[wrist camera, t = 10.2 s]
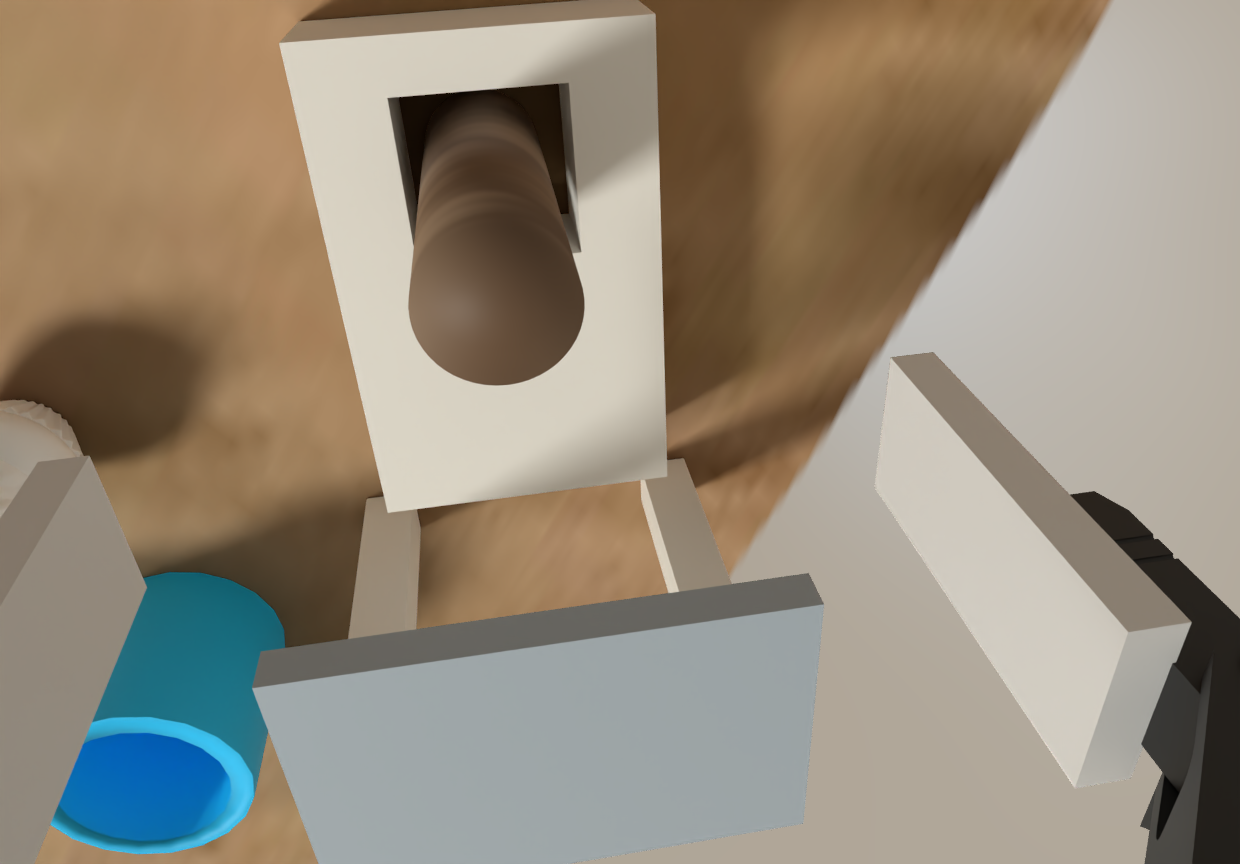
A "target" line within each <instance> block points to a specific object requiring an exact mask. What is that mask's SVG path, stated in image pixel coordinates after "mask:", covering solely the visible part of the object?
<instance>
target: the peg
mask: <svg viewBox="0 0 1240 864" xmlns="http://www.w3.org/2000/svg"><path fill="white" fill-rule="evenodd" d="M408 310H409V318H410V322H411V326H412V329H413V332H414V334H415V337H416V339H417V341H418V342H419V344H420V346H421V347H422V349H423V350H424V351H425V352H426V354H427V355H428V356H429V357H430V358H431V359H432V360H433V361H434V362H435V363H436V364H437V365H438V366H440V367H441V368H442V369H444V370H445V371H447V372H449V373H450V374H452V375H454V376H456V377H458V378H461V379H463V380H466V381H469V382H473V383H477V384H483V385H494V386H499V385H511V384H516V383H521V382H524V381H527V380H530V379H533V378H535V377H537V376H539V375H541V374H543V373H545V372H546V371H548V370H549V369H551V368H552V367H553V366H555V365H556V364H557V363H558V362H559V361H560V360H561V359H562V358H563V357H564V356H565V355H566V354H567V353H568V351H569V350H570V349H571V347H572V346H573V344H574V342H575V341H576V339H577V337H578V334H579V332H580V330H581V326H582V322H583V318H584V310H585V301H584V293H583V288H582V284H581V281H580V277H579V274H578V271H577V267H576V264H575V261H574V257H573V254H572V251H571V247H570V244H569V241H568V237H567V234H566V230H565V227H564V224H563V220H562V217H561V214H560V210H559V207H558V204H557V200H556V197H555V194H554V190H553V187H552V184H551V180H550V177H549V174H548V170H547V167H546V163H545V160H544V157H543V153H542V150H541V147H540V143H539V140H538V137H537V133H536V130H535V127H534V125H533V122H532V120H531V118H530V117H529V115H528V114H527V112H526V111H525V110H524V109H523V107H522V106H520V105H519V104H518V103H517V102H516V101H515V100H513V99H512V98H511V97H509V96H507V95H505V94H503V93H501V92H498V91H495V90H491V89H488V90H476V91H464V92H458V93H456V94H454V95H452V96H450V97H449V98H447V99H446V100H445V101H444V102H442V103H441V104H440V105H439V107H438V108H437V109H436V110H435V112H434V113H433V115H432V116H431V118H430V121H429V123H428V126H427V129H426V134H425V142H424V152H423V161H422V171H421V181H420V191H419V201H418V210H417V220H416V230H415V240H414V249H413V259H412V269H411V279H410V289H409V301H408Z"/></svg>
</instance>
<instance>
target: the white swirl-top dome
mask: <svg viewBox="0 0 1240 864" xmlns="http://www.w3.org/2000/svg"><path fill="white" fill-rule="evenodd" d="M82 456H83V454H82V452H81V449H80V446H79V444H78V441H77V438H76V436H75V434H74V432H73V429H72V427H71V426H69V425H68V423H67V420H65V419H62V418H61V414H58V413H55V412H53V411H52V409H51V408H47V407H45V406H44V405H43V404H36V403H35V402H34V401H30V402H27V401H25V400H7V401H0V518H1V517H2V515H3V514H4V512H5V511H6V509H7V508H8V506H9V505H10V503H11V502H12V500H13V499H14V497H15V496H16V494H17V493H18V491H19V490H20V488H21V487H22V485H23V484H24V482H25V481H26V479H27V478H28V476H29V475H30V473H31V472H32V470H33V469H34V467H35V466H36V464H37V463H38V462H41V461H49V460H57V459H65V458H73V457H82Z"/></svg>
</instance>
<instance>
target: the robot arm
mask: <svg viewBox="0 0 1240 864" xmlns="http://www.w3.org/2000/svg"><path fill="white" fill-rule="evenodd" d="M875 489H876V490H877V492H878V493H879V495H880V496H881V498H882V499H883V501H884V502H885V504H886V505H887V507H888V508H889V510H890V511H891V513H892V514H893V516H894V517H895V519H896V520H897V522H898V523H899V525H900V526H901V528H902V529H903V531H904V532H905V534H906V535H907V537H908V538H909V540H910V541H911V543H912V544H913V546H914V547H915V549H916V550H917V552H918V553H919V555H920V556H921V558H922V559H923V561H924V562H925V564H926V565H927V567H928V568H929V570H930V571H931V573H932V574H933V576H934V577H935V579H936V580H937V582H938V583H939V585H940V586H941V588H942V589H943V591H944V592H945V594H946V595H947V597H948V598H949V600H950V601H951V603H952V604H953V606H954V607H955V609H956V610H957V611H958V613H959V615H960V616H961V618H962V619H963V621H964V622H965V624H966V625H967V627H968V628H969V630H970V631H971V633H972V634H973V636H974V637H975V639H976V641H977V642H978V644H979V645H980V646H981V648H982V650H983V651H984V653H985V654H986V656H987V657H988V658H989V660H990V661H991V663H992V665H993V666H994V667H995V669H996V671H997V672H998V674H999V675H1000V676H1001V678H1002V680H1003V681H1004V683H1005V684H1006V686H1007V687H1008V689H1009V690H1010V692H1011V693H1012V695H1013V696H1014V698H1015V699H1016V701H1017V702H1018V704H1019V705H1020V707H1021V708H1022V710H1023V711H1024V713H1025V714H1026V716H1027V717H1028V719H1029V720H1030V721H1031V723H1032V725H1033V726H1034V728H1035V729H1036V731H1037V732H1038V734H1039V735H1040V737H1041V738H1042V740H1043V741H1044V743H1045V744H1046V746H1047V747H1048V749H1049V750H1050V752H1051V753H1052V755H1053V756H1054V758H1055V759H1056V761H1057V762H1058V764H1059V765H1060V767H1061V768H1062V770H1063V771H1064V773H1065V774H1066V776H1067V777H1068V779H1069V780H1070V782H1071V783H1072V785H1073V786H1074V788H1080V787H1085V786H1091V785H1097V784H1102V783H1108V782H1114V781H1119V780H1125V779H1130V778H1131V776H1132V773H1133V771H1134V769H1135V766H1136V764H1137V761H1138V758H1139V756H1140V753H1141V751H1142V748H1143V747H1144V748H1145V750H1146V751H1147V752H1148V754H1149V755H1150V756H1151V758H1152V759H1153V760H1154V761H1155V763H1156V764H1157V765H1158V766H1159V768H1160V769H1161V771H1162V772H1163V773H1162V775H1161V778H1160V780H1159V783H1158V785H1157V787H1156V789H1155V792H1154V794H1153V797H1152V799H1151V801H1150V804H1149V806H1148V809H1147V811H1146V813H1145V816H1144V818H1143V820H1142V823H1141V827H1144V828H1146V829H1149V830H1150V831H1149V838H1148V845H1147V851H1146V858H1145V864H1240V619H1239V617H1238V616H1236V615H1235V614H1234V613H1233V612H1232V611H1231V610H1230V609H1229V608H1228V607H1227V606H1226V605H1225V604H1224V603H1223V602H1222V601H1221V600H1220V599H1219V598H1218V597H1217V596H1216V595H1215V594H1214V593H1213V592H1212V591H1211V590H1210V589H1209V588H1208V587H1207V586H1206V585H1205V584H1204V583H1203V582H1202V581H1201V580H1199V578H1197V576H1195V575H1194V574H1193V573H1192V572H1191V571H1190V570H1189V569H1188V568H1187V567H1186V566H1185V565H1184V564H1183V563H1182V562H1181V561H1180V560H1179V559H1174V558H1173V553H1172V552H1171V551H1170V550H1169V549H1168V548H1167V547H1166V546H1165V545H1164V544H1162V542H1161V541H1160V540H1159V539H1154V538H1153V534H1152V533H1151V532H1150V531H1149V530H1148V529H1147V528H1146V527H1145V526H1144V525H1143V524H1142V523H1141V522H1140V521H1139V520H1138V519H1137V518H1136V517H1135V516H1134V515H1133V514H1132V513H1131V512H1130V511H1129V510H1127V509H1125V508H1124V507H1122V506H1120V505H1118V504H1116V503H1114V502H1113V501H1111V500H1109V499H1107V498H1105V497H1104V496H1102V495H1100V494H1098V493H1096V492H1095V491H1093V492H1086V493H1079V494H1071V495H1069V494H1068V492H1067V491H1066V490H1064V488H1062V486H1061V485H1060V484H1059V483H1058V482H1057V481H1056V480H1055V479H1054V478H1053V477H1052V476H1051V475H1050V474H1049V473H1048V472H1047V471H1046V470H1045V469H1044V467H1043V466H1042V465H1041V464H1040V463H1038V461H1037V460H1036V459H1035V458H1034V457H1033V456H1032V455H1031V454H1030V453H1029V452H1028V451H1027V450H1026V449H1025V448H1024V447H1023V446H1022V444H1021V443H1020V442H1019V441H1018V440H1017V439H1016V438H1015V437H1014V436H1013V435H1012V434H1011V433H1010V432H1009V431H1008V430H1007V429H1006V428H1005V427H1004V426H1003V425H1002V424H1001V423H1000V422H999V421H998V420H997V418H996V417H995V416H994V415H993V414H992V413H991V412H990V411H989V410H988V409H987V408H986V407H985V406H984V405H983V404H982V403H981V402H980V401H979V400H978V399H977V398H976V397H975V396H974V394H972V392H971V391H970V390H969V389H968V388H967V387H966V386H965V385H964V384H963V383H962V382H961V381H960V380H959V379H958V378H957V377H956V376H955V375H954V374H953V373H952V372H951V370H950V369H948V367H947V366H946V365H945V364H944V363H943V362H942V361H941V360H940V359H939V358H938V357H937V356H936V355H935V354H934V353H933V352H931V353H924V354H915V355H906V356H898V357H891V358H890V366H889V374H888V382H887V391H886V399H885V407H884V415H883V423H882V431H881V440H880V448H879V457H878V464H877V472H876V480H875ZM146 589H147V586H146V584H145V581H144V579H143V577H142V575H141V572H140V570H139V568H138V565H137V563H136V561H135V559H134V556H133V554H132V552H131V549H130V547H129V545H128V543H127V540H126V538H125V536H124V533H123V531H122V529H121V527H120V524H119V522H118V520H117V517H116V515H115V513H114V511H113V508H112V506H111V504H110V501H109V499H108V497H107V494H106V492H105V490H104V488H103V485H102V483H101V481H100V478H99V476H98V474H97V472H96V469H95V467H94V465H93V462H92V460H91V458H90V456H82V457H73V458H65V459H57V460H49V461H41V462H38V463H37V464H36V466H35V467H34V469H33V470H32V472H31V473H30V475H29V476H28V478H27V479H26V481H25V482H24V484H23V485H22V487H21V488H20V490H19V491H18V493H17V494H16V496H15V497H14V499H13V500H12V502H11V503H10V505H9V506H8V508H7V509H6V511H5V512H4V514H3V515H2V517H1V518H0V864H34V863H35V860H36V858H37V856H38V853H39V851H40V848H41V846H42V843H43V841H44V838H45V836H46V834H47V831H48V829H49V826H50V824H51V821H52V819H53V816H54V814H55V811H56V809H57V807H58V804H59V802H60V799H61V797H62V794H63V792H64V789H65V787H66V785H67V782H68V780H69V777H70V775H71V772H72V770H73V767H74V765H75V762H76V760H77V758H78V755H79V753H80V750H81V748H82V745H83V743H84V740H85V738H86V736H87V733H88V731H89V728H90V726H91V723H92V721H93V718H94V716H95V714H96V711H97V709H98V706H99V704H100V701H101V699H102V696H103V694H104V691H105V689H106V687H107V684H108V682H109V679H110V677H111V674H112V672H113V669H114V667H115V665H116V662H117V660H118V657H119V655H120V652H121V650H122V647H123V645H124V642H125V640H126V638H127V635H128V633H129V630H130V628H131V625H132V623H133V620H134V618H135V616H136V613H137V611H138V608H139V606H140V603H141V601H142V598H143V596H144V593H145V591H146Z"/></svg>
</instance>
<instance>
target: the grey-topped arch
mask: <svg viewBox="0 0 1240 864" xmlns="http://www.w3.org/2000/svg"><path fill="white" fill-rule="evenodd" d="M641 500H642V504H643V507H644V510H645V514H646V517H647V521H648V524H649V528H650V531H651V534H652V538H653V541H654V545H655V548H656V552H657V555H658V558H659V562H660V565H661V569H662V572H663V576H664V579H665V582H666V586H667V589H668V593H667V594H660V595H653V596H646V597H639V598H632V599H625V600H618V601H611V602H604V603H597V604H590V605H583V606H576V607H569V608H562V609H555V610H548V611H541V612H534V613H527V614H520V615H513V616H506V617H499V618H492V619H485V620H478V621H471V622H464V623H457V624H450V625H443V626H436V627H429V628H422V629H416V624H417V602H418V580H419V559H420V537H421V527H420V522H419V517H418V513H417V509H414V510H406V511H398V512H391V513H388V511H387V507H386V503H385V498H384V497H376V498H368V499H367V500H366V507H365V515H364V522H363V530H362V537H361V545H360V553H359V560H358V568H357V575H356V583H355V590H354V598H353V606H352V613H351V621H350V628H349V636H348V639H345V640H338V641H331V642H324V643H317V644H310V645H303V646H296V647H289V648H282V649H275V650H268V651H261V653H260V657H259V661H258V665H257V670H256V674H255V678H254V682H253V686H252V690H253V692H254V695H255V697H256V700H257V703H258V705H259V708H260V711H261V713H262V716H263V719H264V721H265V724H266V726H267V729H268V732H269V734H270V737H271V740H272V742H273V745H274V747H275V750H276V753H277V755H278V758H279V761H280V763H281V766H282V769H283V771H284V774H285V776H286V779H287V782H288V784H289V787H290V790H291V792H292V795H293V797H294V800H295V803H296V805H297V808H298V811H299V813H300V816H301V819H302V821H303V824H304V826H305V829H306V832H307V834H308V837H309V840H310V842H311V845H312V847H313V850H314V853H315V855H316V858H317V861H318V863H319V864H571V863H576V862H583V861H588V860H594V859H599V858H606V857H612V856H617V855H622V854H629V853H635V852H640V851H647V850H652V849H658V848H664V847H670V846H676V845H681V844H687V843H693V842H699V841H705V840H710V839H716V838H722V837H728V836H734V835H740V834H746V833H751V832H757V831H763V830H769V829H774V828H781V827H787V826H792V825H798V824H803V820H804V809H805V798H806V788H807V777H808V767H809V756H810V745H811V735H812V725H813V715H814V704H815V694H816V682H817V673H818V662H819V651H820V640H821V631H822V630H821V629H822V620H823V608H824V603H823V602H822V599H821V597H820V595H819V593H818V592H817V589H816V587H815V585H814V583H813V581H812V579H811V577H810V575H809V574H808V573H807V574H800V575H793V576H786V577H779V578H772V579H765V580H758V581H751V582H744V583H737V584H731V581H730V578H729V576H728V573H727V570H726V568H725V565H724V562H723V560H722V557H721V555H720V552H719V549H718V547H717V544H716V541H715V539H714V536H713V534H712V531H711V528H710V526H709V523H708V521H707V518H706V515H705V513H704V510H703V507H702V505H701V502H700V500H699V497H698V494H697V492H696V489H695V486H694V484H693V481H692V479H691V476H690V473H689V471H688V468H687V465H686V463H685V460H684V458H681V459H673V460H667V477H661V478H653V479H645V480H641Z"/></svg>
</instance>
